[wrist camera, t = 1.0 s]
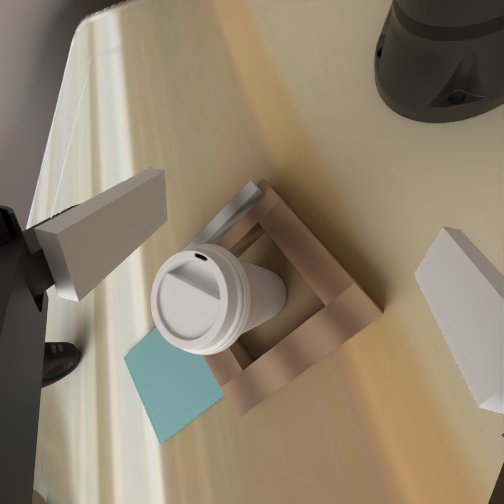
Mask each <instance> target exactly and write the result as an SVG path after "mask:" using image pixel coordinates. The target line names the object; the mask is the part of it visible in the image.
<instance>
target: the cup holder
mask: <svg viewBox="0 0 504 504" xmlns="http://www.w3.org/2000/svg"><path fill="white" fill-rule="evenodd" d="M265 231H266V232H267V233H268V235H269V236H270V237H271V238H272V240H273V241H274V242H275V243H276V245H277V246H278V247H279V248H280V250H281V251H282V252H283V253H284V255H285V256H286V257H287V258H288V260H289V261H290V262H291V263H292V265H293V266H294V267H295V268H296V270H297V271H298V272H299V273H300V275H301V276H302V277H303V278H304V280H305V281H306V282H307V283H308V285H309V286H310V287H311V288H312V289H313V291H314V292H315V293H316V294H317V296H318V297H319V298H320V299H321V301H322V302H323V303H324V304H325V307H324V308H322V309H321V310H320V311H319V312H317V313H316V314H315V315H313V316H312V317H311V318H310V319H308V320H307V321H306V322H304V323H303V324H302V325H301V326H299V327H298V328H297V329H295V330H294V331H293V332H292V333H290V334H289V335H288V336H287V337H285V338H284V339H283V340H281V341H280V342H279V343H278V344H276V345H275V346H274V347H272V348H271V349H270V350H269V351H267V352H266V353H265V354H264V355H262V356H261V357H260V358H258V359H257V360H256V361H254V359H253V358H252V356H251V354H250V353H249V351H248V350H247V348H246V346H245V345H244V343H243V342H242V340H241V338H240V337H238V339H237V340H236V341H235V342H234V343H233V344H232V345H231V346H229V347H228V348H227V349H225V350H223V351H221V352H219V353H216V354H211V355H203V356H204V358H205V360H206V362H207V364H208V365H209V367H210V369H211V371H212V373H213V375H214V376H215V378H216V380H217V382H218V384H219V385H220V387H221V389H222V391H223V393H224V395H225V396H226V398H227V400H228V402H229V404H230V405H231V407H232V409H233V411H234V413H235V415H236V416H237V418H240V417H241V416H242V415H244V414H245V413H247V412H248V411H249V410H251V409H252V408H254V407H255V406H256V405H258V404H259V403H260V402H262V401H263V400H265V399H266V398H267V397H269V396H270V395H272V394H273V393H274V392H276V391H277V390H279V389H280V388H281V387H283V386H284V385H286V384H287V383H288V382H290V381H291V380H293V379H294V378H295V377H297V376H298V375H300V374H301V373H302V372H304V371H305V370H306V369H308V368H309V367H311V366H312V365H313V364H315V363H316V362H318V361H319V360H320V359H322V358H323V357H325V356H326V355H327V354H329V353H330V352H332V351H333V350H334V349H336V348H337V347H339V346H340V345H341V344H343V343H344V342H346V341H347V340H348V339H350V338H351V337H352V336H354V335H355V334H357V333H358V332H359V331H361V330H362V329H364V328H365V327H366V326H368V325H369V324H371V323H372V322H373V321H375V320H376V319H378V318H379V317H380V316H382V315H383V313H384V311H383V310H382V309H381V308H380V307H379V305H378V304H377V303H376V302H375V301H374V300H373V299H372V298H371V296H370V295H369V294H368V293H367V292H366V291H365V290H364V289H363V287H362V286H361V285H360V284H359V283H358V282H357V281H356V280H355V279H354V277H353V276H352V275H351V274H350V273H349V272H348V271H347V270H346V268H345V267H344V266H343V265H342V264H341V263H340V262H339V261H338V259H337V258H336V257H335V256H334V255H333V254H332V253H331V252H330V251H329V249H328V248H327V247H326V246H325V245H324V244H323V243H322V242H321V240H320V239H319V238H318V237H317V236H316V235H315V234H314V233H313V231H312V230H311V229H310V228H309V227H308V226H307V225H306V224H305V223H304V221H303V220H302V219H301V218H300V217H299V216H298V215H297V214H296V212H295V211H294V210H293V209H292V208H291V207H290V206H289V205H288V203H287V202H286V201H285V200H284V199H283V198H282V197H281V196H280V195H279V193H278V192H277V191H276V190H275V189H274V188H273V187H272V186H271V185H270V184H268V183H267V182H266V181H265V180H264V179H262V180H261V181H260V182H259V183H258V184H257V185H256V184H255V183H254V182H253V181H251V180H250V181H249V182H248V183H247V184H246V185H245V186H244V187H243V188H242V189H241V190H240V191H239V192H238V193H237V195H236V196H235V197H234V198H233V199H232V200H231V201H230V202H229V203H228V204H227V205H226V206H225V207H224V208H223V209H222V210H221V211H220V212H219V213H218V214H217V215H216V216H215V218H214V219H213V220H212V221H211V222H210V223H209V224H208V225H207V226H206V227H205V228H204V229H203V230H202V231H201V232H200V233H199V234H198V235H197V236H196V237H195V238H194V239H193V241H192V242H191V243H190V244H189V245H188V246H187V247H186V248H188V247H190V246H194V245H198V244H214V245H218V246H221V247H223V248H225V249H226V250H228V251H229V252H231V253H232V254H233V255H234V256H235V257H236V258H238V257H239V256H240V255H241V254H242V253H243V252H244V251H245V250H246V249H247V248H249V247H250V246H251V245H252V244H253V243H254V242H255V241H256V240H257V239H258V238H259V237H260V236H261V235H262V234H263V233H264V232H265ZM186 248H185V249H186Z"/></svg>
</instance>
